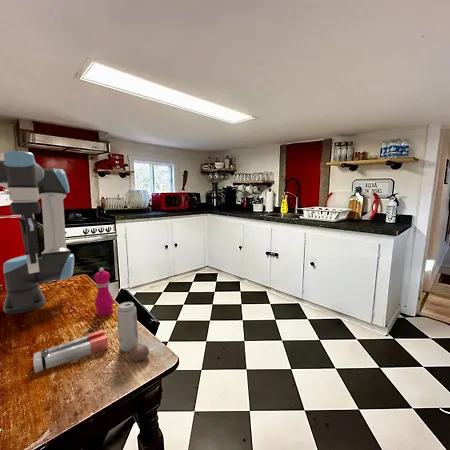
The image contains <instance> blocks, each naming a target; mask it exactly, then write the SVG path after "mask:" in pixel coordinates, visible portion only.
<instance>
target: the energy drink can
mask: <svg viewBox="0 0 450 450" xmlns="http://www.w3.org/2000/svg"><path fill="white" fill-rule="evenodd" d="M137 312H138V311H137V307H136V306H135V303H134V302H133V301H124V302H121V303H120V304H119V305H118V307H117V310H116V319H117V330H118V333H117V334H118V343H119V349H121V351H122V352H130V350H131V349H132V348H133V347H134V346H136V345H139V330H138V314H137Z"/></svg>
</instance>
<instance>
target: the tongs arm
mask: <svg viewBox="0 0 450 450" xmlns="http://www.w3.org/2000/svg"><path fill="white" fill-rule="evenodd" d="M105 335H106V334H105V330H104V329H99V330H97V331H93V332H91V333H89V334H86V335H85V336H83V337H79V338H76V339H74V340H70V341H68V342H64V343H61V344H59V345H56V346H52V347H50V348H47V349H48V351H49V354H51V353H54V352H57V351H60V350H64V349H67V348H70V347H73V346H76V345H80V344H83V343H86V342H89V341H90V340H92V339H95V338H98V337H101V336H105Z"/></svg>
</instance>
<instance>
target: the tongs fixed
mask: <svg viewBox="0 0 450 450" xmlns="http://www.w3.org/2000/svg"><path fill="white" fill-rule="evenodd" d="M108 341H109V340H108V336H107V334H105V336H101V337H98V338H95V339H92V340H90V341H89V342H86V343H83V344H80V345H76V346H73V347H70V348H67V349H64V350H60V351H57V352H54V353H51V354H49V351H48V349H49V348H44V349H42V350H41V351H37V352H34V353H33V361H32V362H33V370H34V374H36V373H39V372H41V371H44V367H45V368H46V370H48V369H50V368H53V367H56V366H60V365H62V364H65V363H67V362H71V361H74V360H77V359H79V358H83V357H86V356H88V355H92V354H96V353H99V352H101V351H105V350H107V349H109V344H108Z"/></svg>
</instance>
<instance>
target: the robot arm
mask: <svg viewBox="0 0 450 450" xmlns="http://www.w3.org/2000/svg"><path fill="white" fill-rule="evenodd" d="M0 187H3V188H5V189H6V192H5V193H6V195H8V198H9V201H11V202H10V204H9V208H10V213H11V214H12V215H20V219H18V224H19V225H20V232H21V236H22V241H23V246H24V247H23V248H24V249H23V250H24V251H25V252H24V253H23V254H24V255H20V256H17V257H14V258H10V259H9V260H6V261H5V262H4V263H3V264H2V268H3V272H2V273H3V277H4V284H5V285H4V286H5V291H6V296H5V300H4V303H3V306H2V309H3V313H4V314H5V315H17V314H24V313H29V312H31V311H35V310H36V309H39V308H40V307H42V306H44V305H45V304H46V297H45V295H44V293H43V292H42V290H41V288H40V285H39V284H40V283H47V282H53V281H54V282H55V281H62V280H67V279H70V278H72V276H73V274H74V268H75V255H74V253H71V250H70V249H69V248H67V240H66V239H67V238H66V224H65V221H66V220H65V207H64V199H65V198H67V194H68V193H70V192H71V191H70V190H71V189H70V186H69V181H68V177H67V173H66V172H65V170H64V169H61V168H53V167H52V168H43V167H42V166H41V165H40V164H39V163H37V162H36V159H35V155H34V154H33V153H32V152H29V151H23V150H22V151H21V150H7V151H5V152H3V160H0ZM40 199H41V204H40V202H39V200H40ZM41 209H42V211H41ZM41 212H42V225H43V238H44V241H43V242H44V250H43V251H42V252H41V253H40V254H41V255H40V256H39V257H38V252H39V246H38V245H39V244H38V232H37V231H38V229H37V228H38V224H37V219H35V218H34V216H33V215H34V214H40V213H41Z"/></svg>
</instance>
